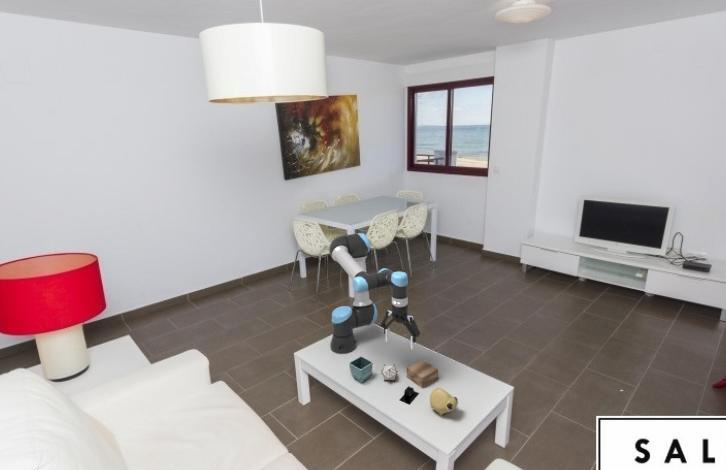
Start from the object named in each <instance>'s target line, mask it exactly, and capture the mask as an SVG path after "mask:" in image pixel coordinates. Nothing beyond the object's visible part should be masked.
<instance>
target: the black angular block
mask: <svg viewBox="0 0 726 470" xmlns="http://www.w3.org/2000/svg"><path fill="white" fill-rule="evenodd" d="M403 393H404V394H403V395H402V397H400V399H399V401H400V402H402V403H405V404H406V405H408V406H410V405H411V404H412V403H413V402H414V401H415V399H416V398H417V397H418V396H419V395H420V392H417V391H416V390H415V389H414V388H413V387H411V386H409V385H408V386H407V387H406V388H405V389H404V392H403Z"/></svg>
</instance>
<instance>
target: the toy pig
mask: <svg viewBox="0 0 726 470" xmlns="http://www.w3.org/2000/svg"><path fill="white" fill-rule="evenodd" d="M429 403H430V407H429V408H431V409H433V410H434V411H436V412H437V413H439V415H440V416H443V415H444V414H447V413H449V412H452V411H454V410H456V408H457V407H458V404H459V401H458V398H457V397H456V396H452V395H451V394H450V393H449V392H448V391H446V390H445V389H443V388H441V387H436V388H435V389H433V390H432V391H431V393H430V395H429Z"/></svg>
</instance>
